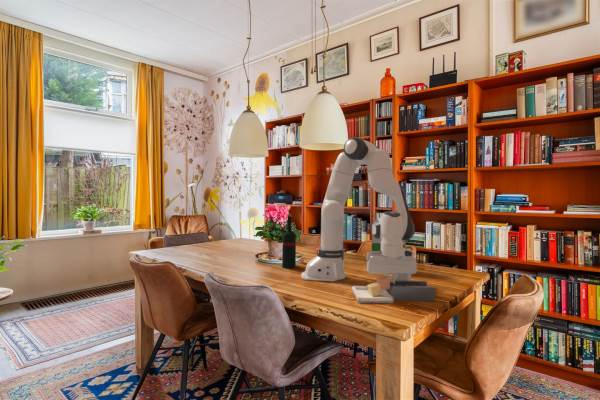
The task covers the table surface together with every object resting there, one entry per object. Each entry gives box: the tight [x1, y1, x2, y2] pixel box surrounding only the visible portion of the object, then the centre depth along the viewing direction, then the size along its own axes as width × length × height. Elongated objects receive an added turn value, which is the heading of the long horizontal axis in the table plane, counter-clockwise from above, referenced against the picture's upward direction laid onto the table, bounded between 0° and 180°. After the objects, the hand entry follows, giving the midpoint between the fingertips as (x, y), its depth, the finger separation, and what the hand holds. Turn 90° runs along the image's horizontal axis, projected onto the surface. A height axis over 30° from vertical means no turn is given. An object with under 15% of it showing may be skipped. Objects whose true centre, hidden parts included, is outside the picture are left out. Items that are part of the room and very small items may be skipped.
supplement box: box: [391, 274, 412, 281], centre depth 159 cm, size 7×7×13 cm
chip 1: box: [366, 282, 382, 297], centre depth 139 cm, size 4×4×4 cm
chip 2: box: [375, 275, 390, 290], centre depth 139 cm, size 4×4×4 cm
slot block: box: [386, 280, 436, 302], centre depth 140 cm, size 17×10×6 cm, turn 90°
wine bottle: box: [281, 213, 297, 269], centre depth 193 cm, size 8×10×30 cm
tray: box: [351, 285, 395, 304], centre depth 140 cm, size 14×16×2 cm
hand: (391, 284), depth 140 cm, fingers closed
